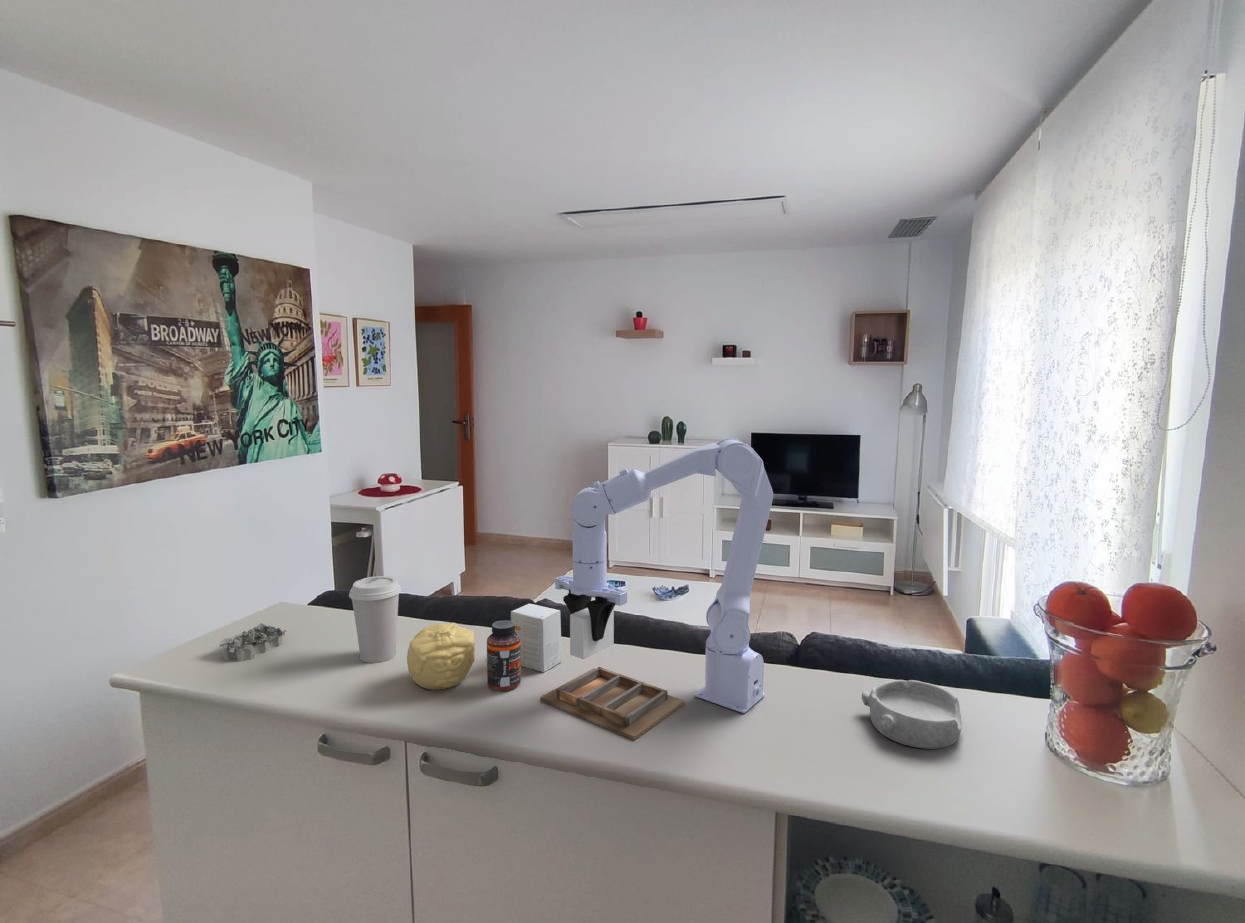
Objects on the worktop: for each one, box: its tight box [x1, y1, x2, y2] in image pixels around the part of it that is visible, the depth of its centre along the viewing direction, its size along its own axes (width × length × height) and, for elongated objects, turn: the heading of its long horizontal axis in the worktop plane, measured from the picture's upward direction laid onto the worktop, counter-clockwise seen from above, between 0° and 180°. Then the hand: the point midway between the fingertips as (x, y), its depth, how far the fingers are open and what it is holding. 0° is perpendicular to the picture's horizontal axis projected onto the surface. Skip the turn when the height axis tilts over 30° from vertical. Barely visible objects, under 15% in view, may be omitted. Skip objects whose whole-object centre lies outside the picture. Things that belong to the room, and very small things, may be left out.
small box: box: [510, 603, 563, 673], centre depth 121 cm, size 8×6×10 cm
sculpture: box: [406, 622, 476, 691], centre depth 113 cm, size 12×12×11 cm
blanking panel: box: [569, 607, 615, 660], centre depth 109 cm, size 3×8×7 cm, turn 142°
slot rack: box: [539, 666, 685, 741], centre depth 106 cm, size 20×14×2 cm
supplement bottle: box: [486, 620, 522, 692], centre depth 112 cm, size 6×6×11 cm
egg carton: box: [218, 622, 287, 662], centre depth 128 cm, size 11×8×4 cm
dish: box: [861, 679, 963, 750], centre depth 99 cm, size 14×14×5 cm
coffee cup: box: [348, 575, 402, 664], centre depth 124 cm, size 10×10×15 cm
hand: (590, 636), depth 108 cm, fingers closed on blanking panel, 3 cm apart
